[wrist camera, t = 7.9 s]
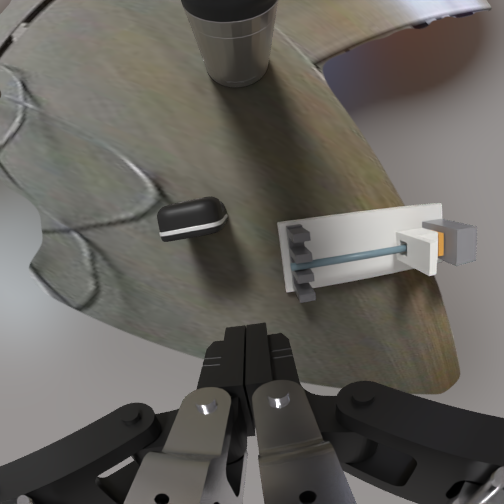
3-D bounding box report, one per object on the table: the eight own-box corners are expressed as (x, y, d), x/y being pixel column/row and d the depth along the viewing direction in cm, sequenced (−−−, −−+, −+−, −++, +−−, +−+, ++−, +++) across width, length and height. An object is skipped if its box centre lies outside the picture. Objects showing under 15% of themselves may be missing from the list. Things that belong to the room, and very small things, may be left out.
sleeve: (395, 231, 34) (430, 243, 26) (422, 227, 34) (458, 237, 26) (396, 259, 35) (429, 276, 27) (422, 253, 35) (456, 268, 27)
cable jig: (276, 222, 38) (286, 233, 28) (436, 203, 37) (477, 208, 27) (285, 288, 40) (296, 320, 30) (437, 259, 40) (475, 276, 29)
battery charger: (225, 194, 37) (214, 194, 26) (229, 220, 38) (221, 232, 27) (177, 203, 37) (148, 208, 26) (182, 229, 38) (156, 244, 27)
